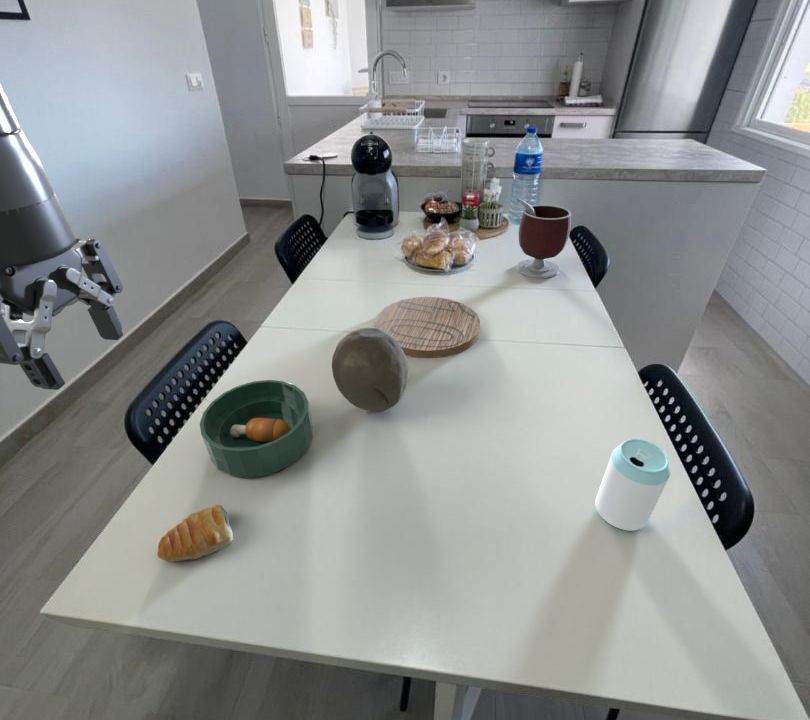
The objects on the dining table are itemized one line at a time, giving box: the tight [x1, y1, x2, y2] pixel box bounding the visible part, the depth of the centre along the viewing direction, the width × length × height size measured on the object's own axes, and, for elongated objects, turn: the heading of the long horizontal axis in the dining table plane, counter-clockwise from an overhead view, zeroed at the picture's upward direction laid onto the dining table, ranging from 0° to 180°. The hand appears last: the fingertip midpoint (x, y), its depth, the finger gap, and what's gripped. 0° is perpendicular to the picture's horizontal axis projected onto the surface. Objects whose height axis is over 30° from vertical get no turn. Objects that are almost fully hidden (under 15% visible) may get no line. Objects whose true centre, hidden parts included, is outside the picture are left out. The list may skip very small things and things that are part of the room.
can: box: [594, 438, 671, 532], centre depth 61 cm, size 7×7×12 cm
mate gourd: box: [516, 197, 572, 279], centre depth 128 cm, size 16×14×20 cm
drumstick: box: [230, 418, 290, 442], centre depth 76 cm, size 11×4×4 cm, turn 82°
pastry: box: [157, 504, 234, 563], centre depth 61 cm, size 9×7×4 cm
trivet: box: [374, 296, 481, 359], centre depth 106 cm, size 25×25×2 cm
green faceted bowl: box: [199, 379, 314, 479], centre depth 76 cm, size 17×17×6 cm
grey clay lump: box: [331, 327, 409, 413], centre depth 81 cm, size 14×14×15 cm
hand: (85, 360), depth 45 cm, fingers open, 8 cm apart
